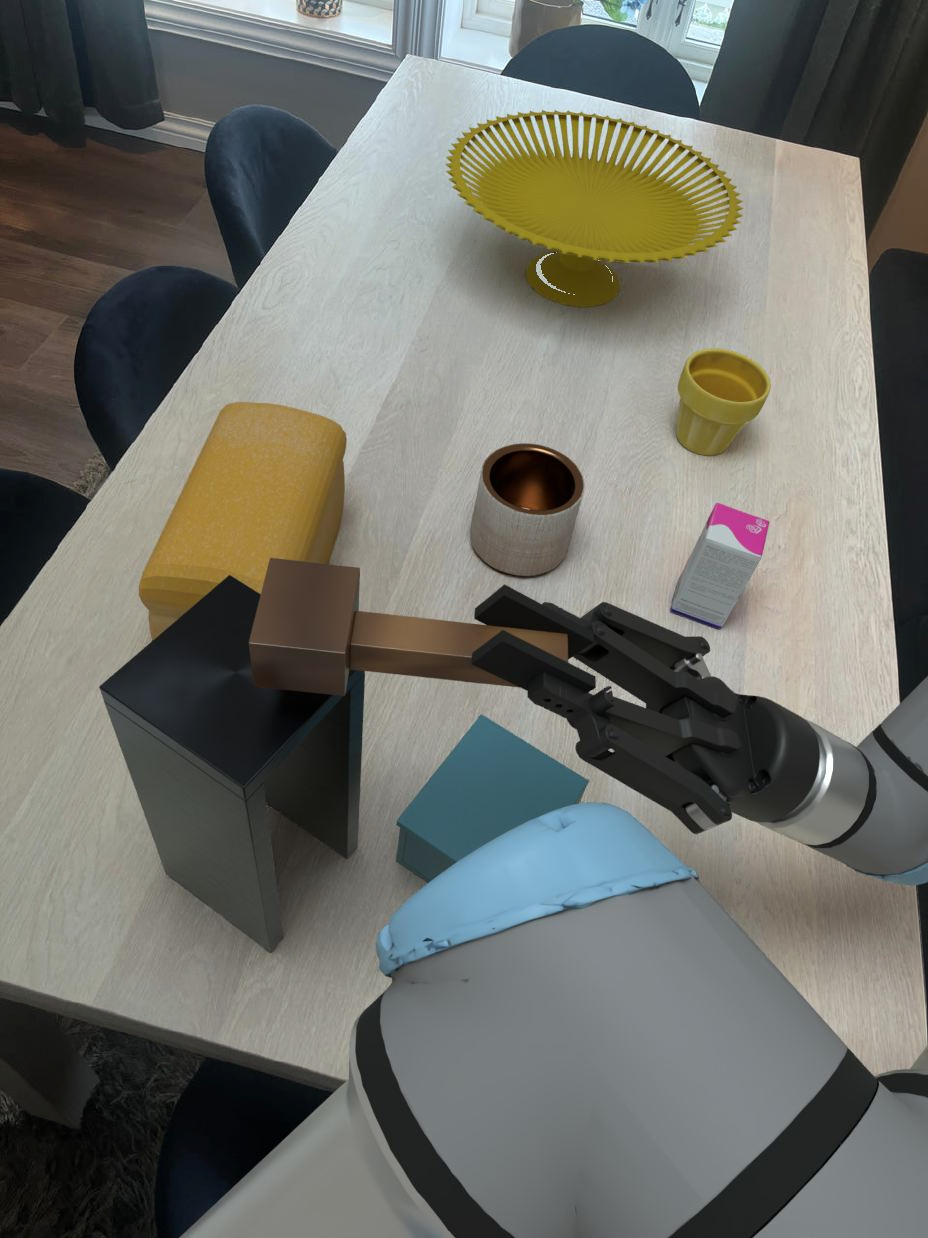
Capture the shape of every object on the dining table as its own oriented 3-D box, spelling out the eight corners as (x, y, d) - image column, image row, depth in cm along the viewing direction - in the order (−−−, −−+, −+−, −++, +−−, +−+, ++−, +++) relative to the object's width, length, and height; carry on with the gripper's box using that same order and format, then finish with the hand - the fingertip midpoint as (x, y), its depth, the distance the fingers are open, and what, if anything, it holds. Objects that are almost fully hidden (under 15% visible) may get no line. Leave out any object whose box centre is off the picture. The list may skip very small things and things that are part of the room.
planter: (448, 534, 101) (457, 469, 94) (518, 492, 106) (532, 428, 99) (518, 595, 97) (533, 532, 89) (587, 549, 102) (607, 485, 95)
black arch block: (271, 953, 72) (243, 789, 51) (165, 873, 75) (98, 686, 54) (358, 846, 78) (366, 659, 57) (257, 776, 81) (229, 573, 60)
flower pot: (757, 439, 117) (787, 376, 109) (717, 479, 112) (745, 415, 104) (688, 400, 120) (712, 336, 113) (646, 436, 115) (668, 371, 107)
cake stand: (376, 269, 131) (380, 163, 120) (545, 180, 153) (563, 83, 141) (608, 405, 118) (638, 301, 106) (757, 288, 139) (796, 190, 128)
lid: (510, 902, 68) (511, 898, 68) (395, 825, 71) (396, 820, 70) (587, 785, 75) (589, 780, 74) (480, 718, 78) (481, 713, 77)
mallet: (253, 687, 51) (248, 643, 48) (273, 602, 54) (269, 557, 51) (560, 719, 52) (575, 678, 48) (559, 634, 55) (572, 591, 52)
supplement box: (722, 631, 97) (762, 558, 88) (668, 612, 98) (701, 537, 89) (732, 593, 100) (771, 519, 91) (679, 574, 101) (713, 499, 92)
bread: (231, 490, 102) (218, 378, 90) (347, 511, 102) (349, 402, 90) (154, 669, 86) (126, 562, 75) (290, 693, 86) (284, 590, 75)
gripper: (746, 900, 58) (437, 776, 48) (718, 694, 67) (456, 554, 57) (849, 864, 53) (530, 717, 43) (803, 647, 63) (533, 485, 52)
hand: (488, 624), depth 50 cm, fingers closed on mallet, 2 cm apart
